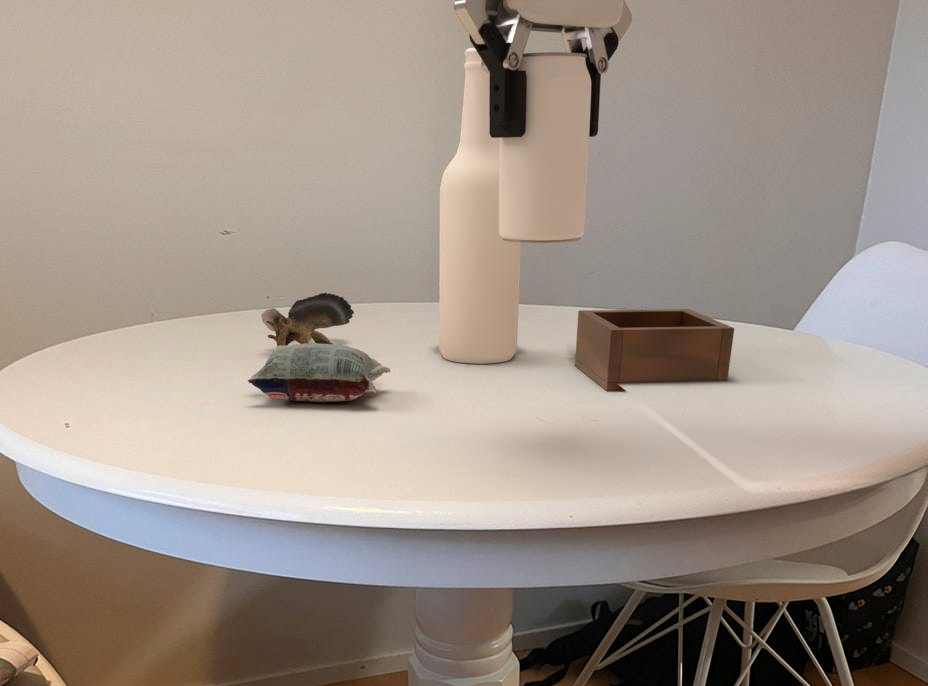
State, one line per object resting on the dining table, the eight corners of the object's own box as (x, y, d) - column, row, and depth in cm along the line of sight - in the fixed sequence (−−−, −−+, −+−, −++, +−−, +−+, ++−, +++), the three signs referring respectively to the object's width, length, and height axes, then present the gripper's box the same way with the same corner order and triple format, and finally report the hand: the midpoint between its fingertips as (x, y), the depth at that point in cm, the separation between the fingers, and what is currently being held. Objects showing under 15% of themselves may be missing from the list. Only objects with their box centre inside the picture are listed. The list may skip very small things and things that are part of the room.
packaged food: (273, 385, 97) (269, 334, 94) (391, 389, 96) (390, 337, 93) (248, 407, 89) (243, 352, 87) (376, 412, 88) (375, 356, 86)
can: (527, 234, 78) (531, 60, 73) (599, 238, 75) (609, 55, 69) (482, 241, 73) (482, 55, 68) (557, 244, 70) (564, 49, 64)
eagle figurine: (308, 353, 106) (367, 328, 111) (273, 294, 104) (334, 270, 110) (279, 381, 112) (335, 356, 117) (245, 325, 111) (304, 302, 116)
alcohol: (531, 355, 112) (545, 50, 98) (488, 368, 105) (496, 43, 92) (468, 346, 116) (473, 54, 103) (423, 358, 110) (422, 47, 96)
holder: (683, 363, 108) (689, 308, 106) (726, 388, 97) (734, 328, 95) (574, 365, 107) (578, 310, 104) (606, 391, 96) (611, 330, 93)
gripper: (488, -219, 55) (486, 136, 63) (687, -168, 65) (663, 135, 73) (410, -186, 61) (417, 138, 69) (604, -143, 70) (591, 137, 78)
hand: (544, 134), depth 71 cm, fingers closed on can, 6 cm apart
